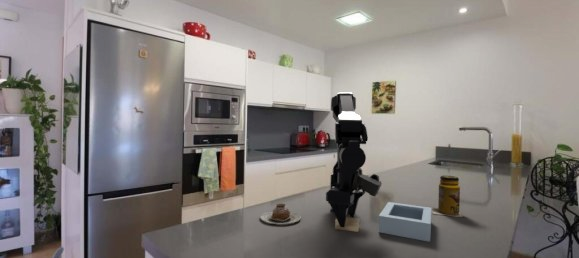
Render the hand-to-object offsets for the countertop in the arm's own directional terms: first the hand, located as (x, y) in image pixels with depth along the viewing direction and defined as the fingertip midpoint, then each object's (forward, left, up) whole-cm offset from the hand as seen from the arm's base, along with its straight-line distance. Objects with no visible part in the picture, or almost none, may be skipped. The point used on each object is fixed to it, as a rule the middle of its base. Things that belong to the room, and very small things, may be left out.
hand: (347, 221), depth 75 cm
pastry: (-19, -3, -2) cm, 19 cm away
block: (0, 0, -2) cm, 2 cm away
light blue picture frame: (+14, +9, -2) cm, 17 cm away
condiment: (+24, +31, -2) cm, 39 cm away
